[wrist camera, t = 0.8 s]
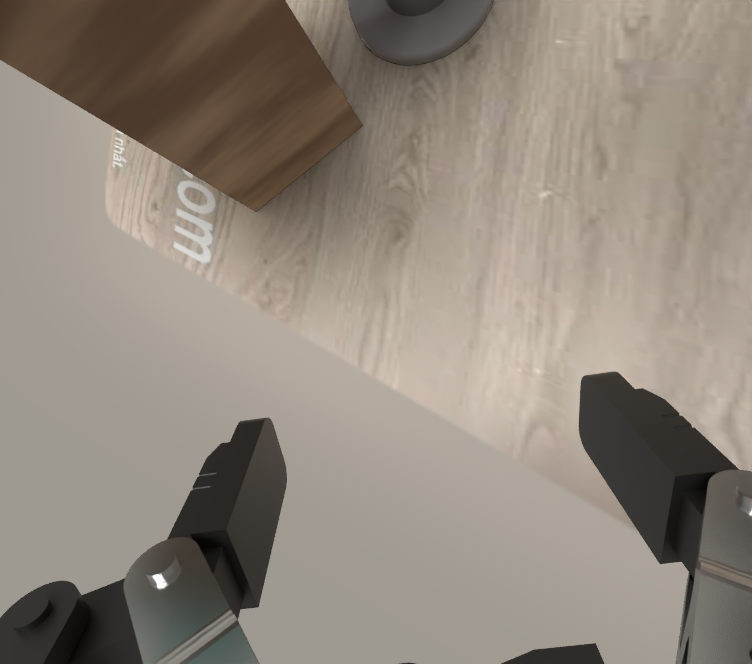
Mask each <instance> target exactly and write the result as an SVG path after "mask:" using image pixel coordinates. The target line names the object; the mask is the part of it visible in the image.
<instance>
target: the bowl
mask: <svg viewBox="0 0 752 664" xmlns="http://www.w3.org/2000/svg"><path fill="white" fill-rule="evenodd" d="M348 2H349V10H350V14H351V17H352V20H353V22H354V25H355V27H356V29H357V31H358V33H359V35H360V38H361V39H362V41H363V42H364V44H365V45H366V46H367V47H368V49H369V50H370V51H372V52H373V53H374V54H375V55H377V56H378V57H380V58H382V59H384V60H386V61H389V62H391V63H396V64H402V65H418V64H423V63H428V62H431V61H435V60H437V59H440V58H442V57H444V56H446V55H448V54H450V53H451V52H453V51H455V50H456V49H458V48H459V47H460V46H462V45H463V44H464V43H465V42H466V41H468V40H469V39H470V38H471V37H472V36H473V35H474V33H475V32H476V31H477V30H478V29H479V27H480V26H481V25H482V23H483V22H484V20H485V19H486V17H487V15H488V13H489V11H490V9H491V7H492V4H493V2H494V0H348Z"/></svg>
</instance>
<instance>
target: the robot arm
mask: <svg viewBox="0 0 752 664" xmlns="http://www.w3.org/2000/svg"><path fill="white" fill-rule="evenodd" d="M579 433H580V438H581V441H582V444H583V447H584V449H585V450H586V452H587V454H588V455H589V457H590V458H591V460H592V461H593V463H594V464H595V466H596V467H597V469H598V470H599V472H600V473H601V475H602V476H603V478H604V480H605V481H606V483H607V484H608V486H609V487H610V489H611V490H612V492H613V493H614V495H615V496H616V498H617V499H618V501H619V502H620V504H621V505H622V507H623V508H624V510H625V512H626V513H627V515H628V516H629V518H630V519H631V521H632V522H633V524H634V525H635V527H636V528H637V530H638V531H639V533H640V534H641V536H642V537H643V539H644V540H645V542H646V544H647V545H648V547H649V548H650V549H651V551H652V553H653V554H654V555H655V557H656V559H657V560H658V562H659V563H660V564H665V563H673V562H682V563H683V564H684V566H685V567H686V568H687V570H688V571H689V575H688V579H687V585H686V593H685V601H684V608H683V615H682V622H681V629H680V636H679V644H678V651H677V659H676V664H752V472H751V471H744V470H739V469H738V468H737V467H736V466H735V465H734V464H733V463H732V462H730V461H729V460H728V459H727V458H726V457H725V456H724V455H723V454H722V453H721V452H720V451H719V450H718V449H717V448H716V447H715V446H713V445H712V444H711V443H710V442H709V441H708V440H707V439H706V438H705V437H704V436H703V435H702V434H701V433H700V432H699V431H698V430H696V429H695V428H692V426H691V424H690V423H689V422H688V421H687V420H686V419H685V418H684V417H683V416H680V415H679V413H678V412H677V411H676V410H675V409H674V408H673V407H672V406H671V405H670V404H669V403H668V402H667V401H666V400H665V399H663V398H661V397H659V396H657V395H655V394H653V393H651V392H649V391H647V390H645V389H643V388H642V389H634V388H633V387H632V386H631V385H630V384H629V383H628V382H627V381H626V380H625V379H624V378H623V377H622V376H621V375H620V374H619V373H618V372H608V373H601V374H593V375H586V376H583V378H582V380H581V390H580V411H579ZM286 483H287V473H286V466H285V461H284V458H283V455H282V452H281V448H280V445H279V442H278V439H277V435H276V432H275V429H274V426H273V423H272V421H271V419H270V418H262V419H254V420H246V421H240V422H239V423H238V425H237V427H236V430H235V432H234V434H233V436H232V439H231V441H230V442H228V443H221V444H220V445H219V446H218V447H217V448H216V449H215V450H214V451H213V452H212V453H211V454H210V455H209V456H208V458H207V459H206V461H205V463H204V465H203V467H202V469H201V471H200V473H199V477H197V479H196V481H195V483H194V485H193V490H192V491H191V492H190V494H189V496H188V498H187V500H186V502H185V504H184V506H183V508H182V510H181V512H180V514H179V516H178V518H177V520H176V522H175V524H174V527H173V528H172V531H171V533H170V535H169V537H168V539H167V540H165V541H163V542H160V543H158V544H156V545H155V546H153V547H151V548H150V549H148V550H147V551H146V552H145V553H143V554H142V555H141V556H140V557H139V558H138V559H137V560H136V561H135V562H134V564H133V565H132V566H131V568H130V569H129V572H128V573H127V575H126V578H124V579H122V580H120V581H117V582H115V583H112V584H110V585H107V586H105V587H102V588H100V589H97V590H94V591H92V592H90V593H87V594H84V595H81V594H80V592H79V591H78V589H77V588H76V586H75V585H74V584H73V583H71V582H68V581H56V582H52V583H49V584H46V585H43V586H41V587H39V588H37V589H35V590H33V591H31V592H30V593H28V594H27V595H25V596H24V597H22V598H21V599H20V600H18V601H17V602H16V603H15V604H14V605H12V606H11V607H10V608H9V609H8V610H7V611H6V612H5V613H4V614H3V615H2V617H1V618H0V664H259V662H258V660H257V658H256V656H255V654H254V652H253V650H252V648H251V646H250V644H249V642H248V640H247V638H246V636H245V634H244V632H243V630H242V628H241V626H240V624H239V622H238V617H239V613H240V609H247V608H255V607H259V603H260V598H261V594H262V590H263V585H264V580H265V576H266V572H267V568H268V563H269V559H270V555H271V550H272V546H273V541H274V537H275V533H276V529H277V524H278V520H279V515H280V511H281V506H282V503H283V498H284V494H285V490H286ZM401 664H414V663H401ZM502 664H604V662H603V660H602V657H601V655H600V653H599V650H598V648H597V646H596V644H585V645H576V646H566V647H556V648H547V649H537V650H532V651H530V652H528V653H525V654H523V655H521V656H519V657H516V658H514V659H511V660H509V661H507V662H504V663H502Z"/></svg>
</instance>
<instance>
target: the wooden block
mask: <svg viewBox="0 0 752 664" xmlns="http://www.w3.org/2000/svg"><path fill="white" fill-rule="evenodd" d="M0 60H2V61H3V62H5V63H7V64H8V65H10V66H12V67H13V68H15V69H17V70H18V71H20V72H22V73H24V74H25V75H27V76H28V77H30V78H32V79H34V80H35V81H37V82H39V83H40V84H42V85H44V86H45V87H47V88H49V89H50V90H52V91H54V92H55V93H57V94H59V95H60V96H62V97H64V98H65V99H67V100H69V101H70V102H72V103H74V104H76V105H77V106H79V107H81V108H82V109H84V110H86V111H87V112H89V113H91V114H93V115H94V116H96V117H97V118H99V119H101V120H102V121H104V122H106V123H107V124H109V125H111V126H112V127H114V128H116V129H118V130H119V131H121V132H123V133H124V134H126V135H128V136H129V137H131V138H133V139H134V140H136V141H138V142H139V143H141V144H143V145H144V146H146V147H148V148H149V149H151V150H153V151H155V152H156V153H158V154H160V155H161V156H163V157H165V158H166V159H168V160H170V161H171V162H173V163H175V164H176V165H178V166H180V167H181V168H183V169H185V170H186V171H188V172H190V173H191V174H193V175H195V176H197V177H198V178H200V179H202V180H203V181H205V182H207V183H208V184H210V185H212V186H213V187H215V188H217V189H218V190H220V191H222V192H223V193H225V194H227V195H228V196H230V197H232V198H234V199H235V200H237V201H239V202H240V203H242V204H244V205H245V206H247V207H249V208H250V209H252V210H254V211H255V212H257V211H258V210H259V209H260V208H261V207H263V206H264V205H265V204H266V203H268V202H269V201H270V200H271V199H273V198H274V197H275V196H276V195H278V194H279V193H280V192H281V191H282V190H284V189H285V188H286V187H287V186H289V185H290V184H291V183H292V182H294V181H295V180H296V179H297V178H299V177H300V176H301V175H302V174H304V173H305V172H306V171H307V170H308V169H310V168H311V167H312V166H313V165H315V164H316V163H317V162H318V161H320V160H321V159H322V158H323V157H325V156H326V155H327V154H328V153H330V152H331V151H332V150H333V149H334V148H336V147H337V146H338V145H339V144H341V143H342V142H343V141H344V140H346V139H347V138H348V137H349V136H351V135H352V134H353V133H354V132H355V131H357V130H358V129H359V128H360V127H362V126H363V125H362V123H361V122H360V120H359V119H358V117H357V115H356V114H355V112H354V111H353V109H352V107H351V106H350V104H349V103H348V101H347V99H346V98H345V96H344V94H343V93H342V91H341V90H340V88H339V86H338V85H337V83H336V82H335V80H334V78H333V77H332V75H331V74H330V72H329V70H328V69H327V67H326V66H325V64H324V62H323V61H322V59H321V57H320V56H319V54H318V53H317V51H316V49H315V48H314V46H313V45H312V43H311V41H310V40H309V38H308V37H307V35H306V33H305V32H304V30H303V28H302V27H301V25H300V24H299V22H298V20H297V19H296V17H295V16H294V14H293V12H292V11H291V9H290V8H289V6H288V4H287V3H286V1H285V0H0Z"/></svg>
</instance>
